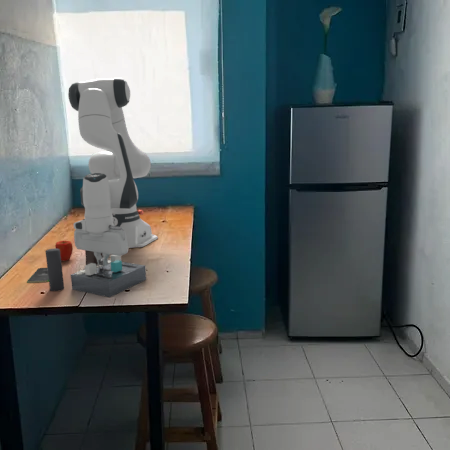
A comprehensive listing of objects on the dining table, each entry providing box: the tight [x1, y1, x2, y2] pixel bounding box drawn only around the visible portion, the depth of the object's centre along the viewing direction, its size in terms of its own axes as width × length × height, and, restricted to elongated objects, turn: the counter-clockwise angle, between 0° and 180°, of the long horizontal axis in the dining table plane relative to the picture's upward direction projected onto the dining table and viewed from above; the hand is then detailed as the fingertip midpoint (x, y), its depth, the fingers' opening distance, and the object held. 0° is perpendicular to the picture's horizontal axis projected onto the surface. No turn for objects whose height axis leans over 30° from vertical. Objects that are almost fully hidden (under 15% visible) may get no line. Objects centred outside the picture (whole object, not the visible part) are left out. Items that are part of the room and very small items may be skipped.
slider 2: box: [109, 254, 122, 262], centre depth 181 cm, size 3×2×3 cm, turn 150°
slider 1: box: [84, 263, 97, 275], centre depth 171 cm, size 3×2×3 cm, turn 150°
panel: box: [70, 259, 147, 298], centre depth 176 cm, size 18×16×5 cm
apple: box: [55, 240, 73, 262], centre depth 204 cm, size 6×6×8 cm
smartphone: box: [26, 267, 49, 284], centre depth 187 cm, size 8×1×15 cm
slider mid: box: [111, 260, 123, 272], centre depth 173 cm, size 3×2×3 cm, turn 150°
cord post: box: [45, 247, 65, 292], centre depth 172 cm, size 4×4×13 cm
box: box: [84, 250, 104, 265], centre depth 188 cm, size 6×4×12 cm
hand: (102, 264), depth 176 cm, fingers closed
